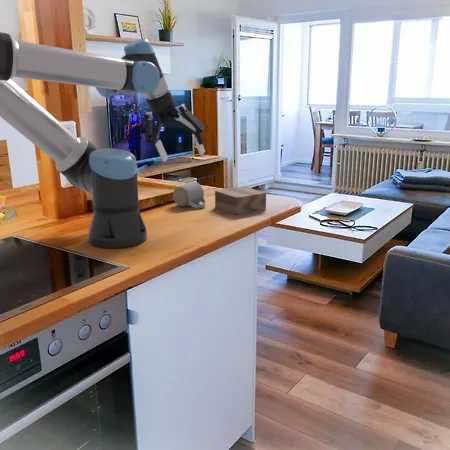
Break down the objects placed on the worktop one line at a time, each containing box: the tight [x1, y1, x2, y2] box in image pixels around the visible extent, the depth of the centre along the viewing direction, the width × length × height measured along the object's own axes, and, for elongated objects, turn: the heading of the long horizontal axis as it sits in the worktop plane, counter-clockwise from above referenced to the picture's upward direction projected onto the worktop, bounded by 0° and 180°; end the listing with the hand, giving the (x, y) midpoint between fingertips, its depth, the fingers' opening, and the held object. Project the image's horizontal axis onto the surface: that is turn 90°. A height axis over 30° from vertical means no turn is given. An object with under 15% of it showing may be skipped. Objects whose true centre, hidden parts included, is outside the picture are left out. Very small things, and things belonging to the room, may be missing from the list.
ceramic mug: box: [172, 180, 206, 210], centre depth 161 cm, size 11×8×8 cm
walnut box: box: [214, 185, 267, 216], centre depth 158 cm, size 12×12×6 cm
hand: (183, 156), depth 151 cm, fingers open, 13 cm apart
